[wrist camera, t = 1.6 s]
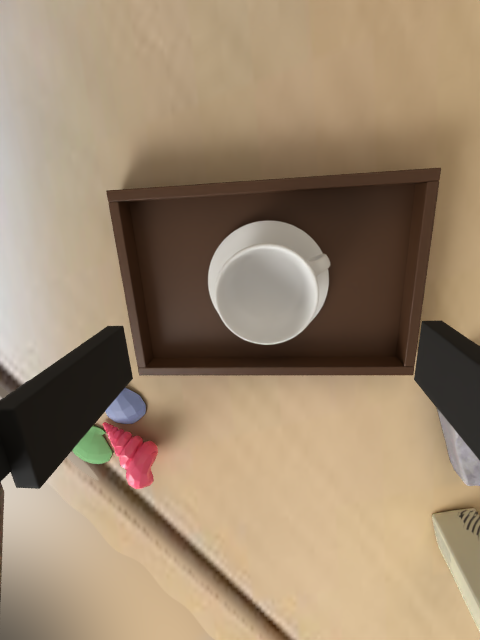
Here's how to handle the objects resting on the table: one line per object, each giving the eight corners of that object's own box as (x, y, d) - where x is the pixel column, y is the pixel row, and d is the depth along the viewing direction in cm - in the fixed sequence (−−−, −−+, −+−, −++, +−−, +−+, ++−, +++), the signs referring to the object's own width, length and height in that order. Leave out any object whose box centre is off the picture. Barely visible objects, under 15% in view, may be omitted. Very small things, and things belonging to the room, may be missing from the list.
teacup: (245, 354, 30) (240, 380, 25) (187, 258, 27) (170, 268, 23) (347, 305, 27) (362, 324, 23) (294, 195, 25) (299, 193, 20)
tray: (119, 192, 26) (105, 190, 24) (426, 171, 24) (441, 167, 21) (148, 364, 31) (138, 375, 29) (402, 362, 29) (413, 375, 26)
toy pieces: (173, 394, 32) (158, 422, 28) (159, 477, 36) (144, 512, 32) (58, 366, 32) (26, 389, 28) (56, 452, 36) (28, 483, 32)
